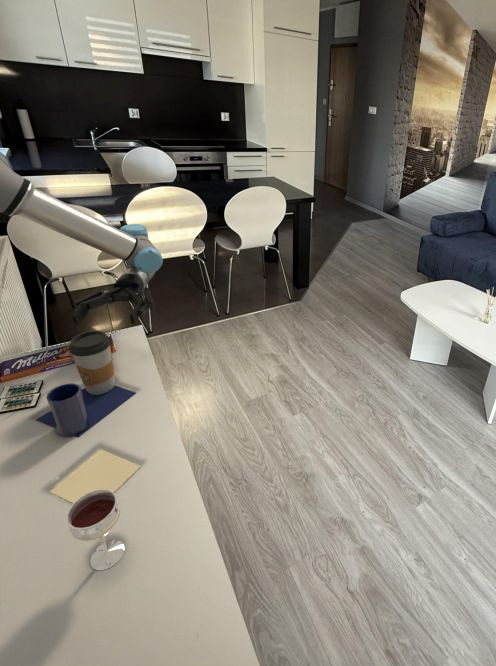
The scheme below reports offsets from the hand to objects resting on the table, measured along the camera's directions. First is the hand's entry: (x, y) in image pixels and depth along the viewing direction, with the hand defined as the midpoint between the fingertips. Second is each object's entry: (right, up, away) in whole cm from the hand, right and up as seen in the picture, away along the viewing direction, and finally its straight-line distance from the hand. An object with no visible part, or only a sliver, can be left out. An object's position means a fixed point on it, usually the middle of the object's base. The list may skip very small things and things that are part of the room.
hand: (103, 320), depth 104 cm
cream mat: (+15, -30, -25) cm, 41 cm away
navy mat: (+1, -20, -8) cm, 22 cm away
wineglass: (+25, -37, -37) cm, 58 cm away
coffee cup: (0, -17, -2) cm, 18 cm away
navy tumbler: (+2, -23, -14) cm, 27 cm away
